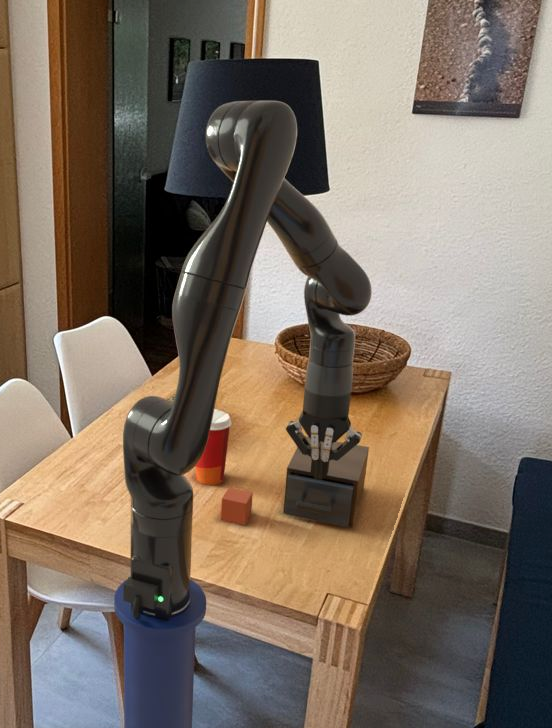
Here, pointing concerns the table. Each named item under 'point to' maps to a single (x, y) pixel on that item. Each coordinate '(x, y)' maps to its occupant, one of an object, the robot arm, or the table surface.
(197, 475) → the paper cup
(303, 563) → the table surface
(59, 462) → the table surface
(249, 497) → the block
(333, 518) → the drawer
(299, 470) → the cabinet
